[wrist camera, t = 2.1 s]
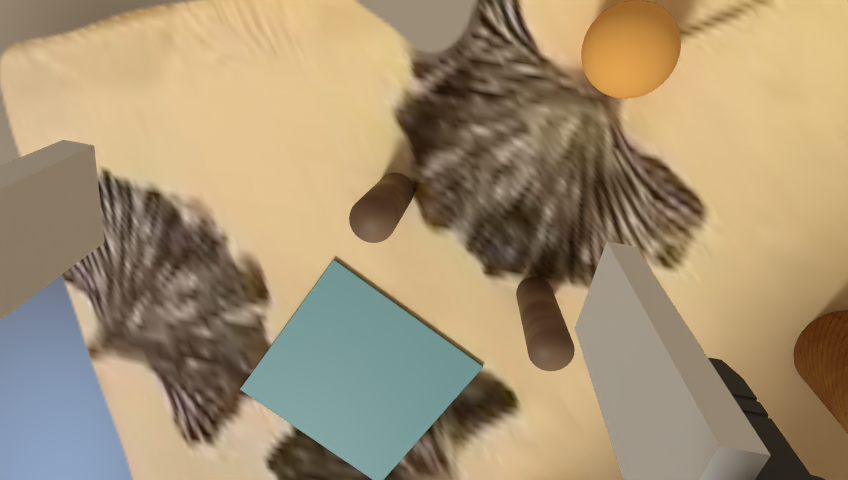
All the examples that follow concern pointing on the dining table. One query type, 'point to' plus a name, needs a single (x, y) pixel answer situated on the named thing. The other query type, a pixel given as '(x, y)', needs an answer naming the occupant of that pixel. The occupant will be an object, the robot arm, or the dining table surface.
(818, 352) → the disposable coffee cup
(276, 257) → the dining table surface
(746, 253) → the dining table surface
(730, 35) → the dining table surface
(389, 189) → the outer post
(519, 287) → the inner post
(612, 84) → the ball
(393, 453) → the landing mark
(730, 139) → the dining table surface
